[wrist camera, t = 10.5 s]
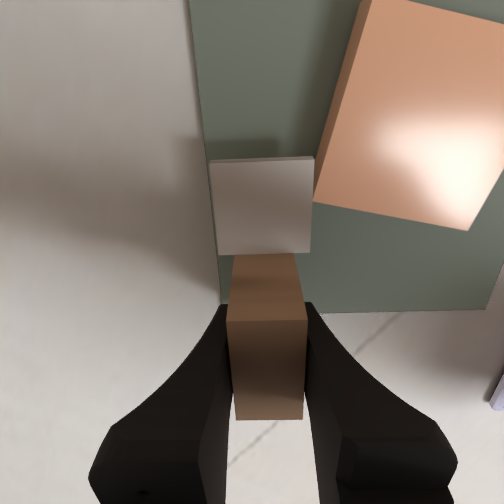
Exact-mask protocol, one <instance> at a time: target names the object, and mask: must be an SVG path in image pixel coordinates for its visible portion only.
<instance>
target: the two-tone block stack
mask: <svg viewBox="0 0 504 504" xmlns="http://www.w3.org/2000/svg"><path fill="white" fill-rule="evenodd" d="M314 161H315V159H314V158H313V157H312V156H301V157H276V158H251V159H225V160H211V161H210V163H209V168H210V177H211V187H212V197H213V206H214V216H215V225H216V235H217V245H218V254H219V255H234V262H233V270H232V278H231V286H230V294H229V301H228V309H227V317H226V327H227V337H228V346H229V356H230V366H231V375H232V385H233V395H234V404H235V414H236V420H303V403H304V384H305V365H306V346H307V327H308V318H307V313H306V308H305V304H304V299H303V294H302V289H301V285H300V280H299V275H298V271H297V266H296V261H295V256H294V253H310V241H311V221H312V201H313V181H314Z"/></svg>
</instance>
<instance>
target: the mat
mask: <svg viewBox="0 0 504 504" xmlns="http://www.w3.org/2000/svg"><path fill="white" fill-rule="evenodd" d="M361 1H363V0H189V7H190V16H191V25H192V34H193V43H194V52H195V61H196V70H197V79H198V89H199V98H200V107H201V116H202V125H203V134H204V143H205V152H206V161H207V170H208V179H209V189H210V198H211V207H212V216H213V225H214V234H215V243H216V252H217V261H218V270H219V279H220V289H221V298H222V304H228V301H229V294H230V286H231V278H232V270H233V262H234V255H219V254H218V245H217V235H216V225H215V216H214V206H213V197H212V187H211V177H210V168H209V163H210V161H211V160H225V159H251V158H276V157H301V156H312V157H313V158H314V159H316V155H317V152H318V148H319V145H320V141H321V138H322V134H323V131H324V127H325V124H326V120H327V117H328V113H329V110H330V106H331V103H332V99H333V96H334V92H335V89H336V85H337V82H338V78H339V75H340V71H341V68H342V64H343V61H344V57H345V54H346V50H347V46H348V43H349V39H350V36H351V32H352V29H353V25H354V22H355V18H356V15H357V11H358V8H359V4H360V2H361ZM408 1H412V2H416V3H420V4H424V5H428V6H432V7H436V8H440V9H444V10H448V11H452V12H456V13H460V14H464V15H468V16H472V17H477V18H481V19H485V20H489V21H493V22H497V23H501V24H504V0H408ZM314 162H315V161H314ZM294 256H295V261H296V266H297V271H298V275H299V280H300V285H301V289H302V294H303V299H304V302H311V303H312V304H313V305H314V307H315V308H316V310H317V312H318V313H356V312H400V311H444V310H485V308H486V305H487V303H488V300H489V298H490V295H491V293H492V290H493V288H494V285H495V283H496V280H497V278H498V275H499V273H500V270H501V268H502V265H503V263H504V169H503V171H502V172H501V174H500V176H499V178H498V179H497V181H496V183H495V185H494V186H493V188H492V190H491V191H490V193H489V195H488V197H487V198H486V200H485V202H484V204H483V205H482V207H481V209H480V211H479V212H478V214H477V216H476V217H475V219H474V221H473V223H472V224H471V226H470V228H469V230H468V231H466V230H461V229H455V228H450V227H445V226H439V225H434V224H429V223H424V222H418V221H413V220H408V219H403V218H397V217H392V216H387V215H382V214H376V213H371V212H366V211H360V210H355V209H350V208H345V207H339V206H334V205H329V204H324V203H318V202H313V201H312V221H311V241H310V253H294Z"/></svg>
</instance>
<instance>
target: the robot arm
mask: <svg viewBox="0 0 504 504" xmlns="http://www.w3.org/2000/svg"><path fill="white" fill-rule="evenodd" d="M304 304H305V308H306V313H307V318H308V327H307V346H306V365H305V384H304V392H305V397H306V401H307V406H308V411H309V416H310V423H311V431H312V439H313V447H314V455H315V464H316V472H317V481H318V490H319V499H320V504H454V500H453V498H452V495H451V493H450V491H449V489H448V485H449V483H450V481H451V479H452V477H453V475H454V473H455V470H456V468H457V464H458V461H457V457H456V454H455V453H454V451H453V449H452V447H451V445H450V443H449V441H448V440H447V438H446V437H445V435H444V433H443V432H442V430H441V429H440V427H439V426H438V424H437V423H436V422H435V421H434V420H432V419H431V418H429V417H428V416H426V415H425V414H423V413H421V412H420V411H418V410H417V409H415V408H414V407H412V406H410V405H409V404H407V403H406V402H405V401H403V400H402V399H400V398H399V397H398V396H396V395H395V394H394V393H392V392H391V391H390V390H389V389H387V388H386V387H385V386H384V385H382V384H381V383H380V382H379V381H377V380H376V379H375V378H374V377H373V376H372V375H371V374H370V373H368V372H367V371H366V370H365V369H364V368H363V367H362V366H361V365H360V364H359V363H358V362H357V361H356V360H355V359H354V358H353V357H352V356H351V355H350V354H349V352H348V351H347V350H346V349H345V348H344V347H343V346H342V344H341V343H340V342H339V341H338V340H337V338H336V337H335V336H334V334H333V333H332V332H331V331H330V329H329V328H328V327H327V325H326V324H325V322H324V321H323V319H322V318H321V316H320V315H319V313H318V312H317V310H316V308H315V307H314V305H313V304H312V303H311V302H304ZM227 309H228V304H221V305H220V306H219V307H218V309H217V311H216V313H215V315H214V317H213V319H212V321H211V323H210V324H209V326H208V328H207V329H206V331H205V332H204V334H203V336H202V337H201V339H200V340H199V342H198V343H197V344H196V346H195V347H194V349H193V350H192V351H191V353H190V354H189V355H188V357H187V358H186V359H185V360H184V362H183V363H182V364H181V365H180V366H179V367H178V369H177V370H176V371H175V372H174V373H173V374H172V375H171V376H170V377H169V378H168V379H167V380H166V381H165V382H164V383H163V384H162V385H161V386H160V387H159V388H158V389H157V390H156V391H155V392H154V393H153V394H152V395H150V396H149V397H148V398H147V399H146V400H145V401H144V402H143V403H141V404H140V405H139V406H138V407H137V408H135V409H134V410H133V411H131V412H130V413H129V414H127V415H126V416H125V417H123V418H122V419H121V420H119V421H118V422H117V423H115V424H114V425H112V426H111V428H110V429H109V431H108V433H107V435H106V437H105V438H104V440H103V442H102V444H101V446H100V448H99V450H98V453H97V455H96V457H95V460H94V462H93V465H92V467H91V469H90V472H89V476H88V480H89V483H90V485H91V488H92V489H93V491H94V493H95V495H96V496H97V498H98V500H99V502H100V504H225V498H226V474H227V452H228V433H229V418H230V409H231V402H232V396H233V385H232V375H231V366H230V356H229V346H228V337H227V327H226V317H227ZM489 405H490V406H491V408H492V409H493V410H496V411H504V374H503V376H502V378H501V380H500V382H499V384H498V386H497V388H496V390H495V392H494V394H493V396H492V398H491V400H490V402H489Z"/></svg>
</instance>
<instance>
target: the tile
mask: <svg viewBox="0 0 504 504" xmlns="http://www.w3.org/2000/svg"><path fill="white" fill-rule="evenodd" d="M503 169H504V24H501V23H497V22H493V21H489V20H485V19H481V18H477V17H472V16H468V15H464V14H460V13H456V12H452V11H448V10H444V9H440V8H436V7H432V6H428V5H424V4H420V3H416V2H412V1H408V0H363V1H361V2H360V4H359V8H358V11H357V15H356V18H355V22H354V25H353V29H352V32H351V36H350V39H349V43H348V46H347V50H346V54H345V57H344V61H343V64H342V68H341V71H340V75H339V78H338V82H337V85H336V89H335V92H334V96H333V99H332V103H331V106H330V110H329V113H328V117H327V120H326V124H325V127H324V131H323V134H322V138H321V141H320V145H319V148H318V152H317V155H316V159H315V162H314V181H313V202H318V203H324V204H329V205H334V206H339V207H345V208H350V209H355V210H360V211H366V212H371V213H376V214H382V215H387V216H392V217H397V218H403V219H408V220H413V221H418V222H424V223H429V224H434V225H439V226H445V227H450V228H455V229H461V230H466V231H468V230H469V228H470V226H471V224H472V223H473V221H474V219H475V217H476V216H477V214H478V212H479V211H480V209H481V207H482V205H483V204H484V202H485V200H486V198H487V197H488V195H489V193H490V191H491V190H492V188H493V186H494V185H495V183H496V181H497V179H498V178H499V176H500V174H501V172H502V171H503Z"/></svg>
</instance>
